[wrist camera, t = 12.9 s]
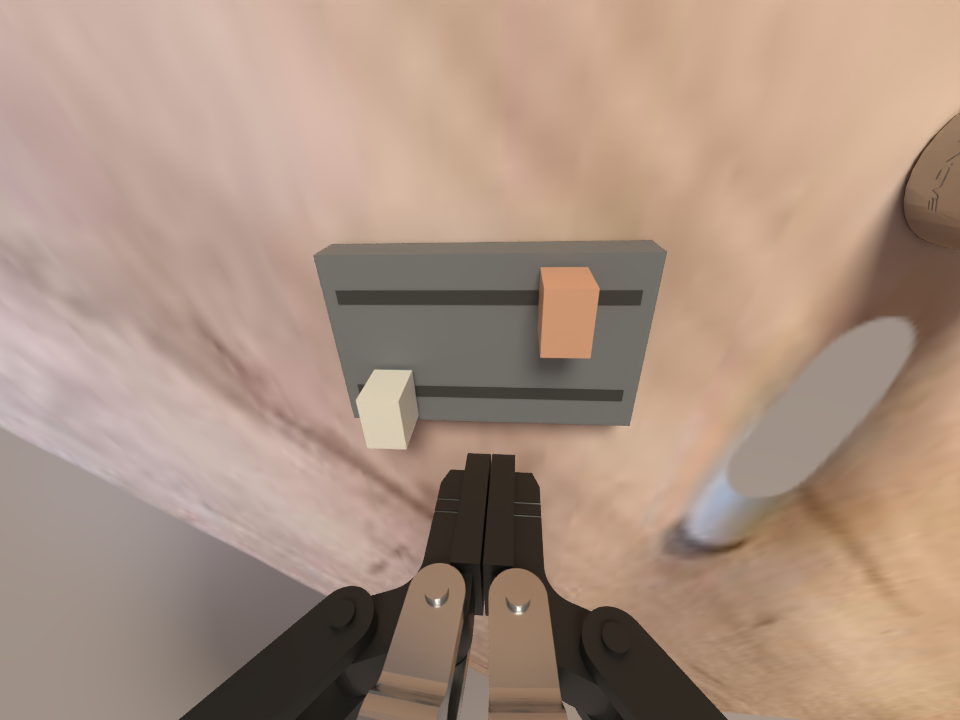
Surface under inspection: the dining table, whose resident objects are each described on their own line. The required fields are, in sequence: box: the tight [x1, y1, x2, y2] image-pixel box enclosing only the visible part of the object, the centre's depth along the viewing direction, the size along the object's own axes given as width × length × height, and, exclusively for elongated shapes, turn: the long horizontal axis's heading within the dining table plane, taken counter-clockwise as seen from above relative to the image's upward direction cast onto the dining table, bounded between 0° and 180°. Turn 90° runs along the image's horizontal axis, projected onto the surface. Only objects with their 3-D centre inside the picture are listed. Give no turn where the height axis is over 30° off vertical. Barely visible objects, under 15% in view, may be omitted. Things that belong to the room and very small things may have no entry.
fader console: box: [313, 240, 667, 426], centre depth 30 cm, size 23×14×3 cm, turn 92°
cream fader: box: [356, 370, 419, 449], centre depth 29 cm, size 3×4×4 cm
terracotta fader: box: [537, 267, 600, 358], centre depth 24 cm, size 3×4×4 cm
